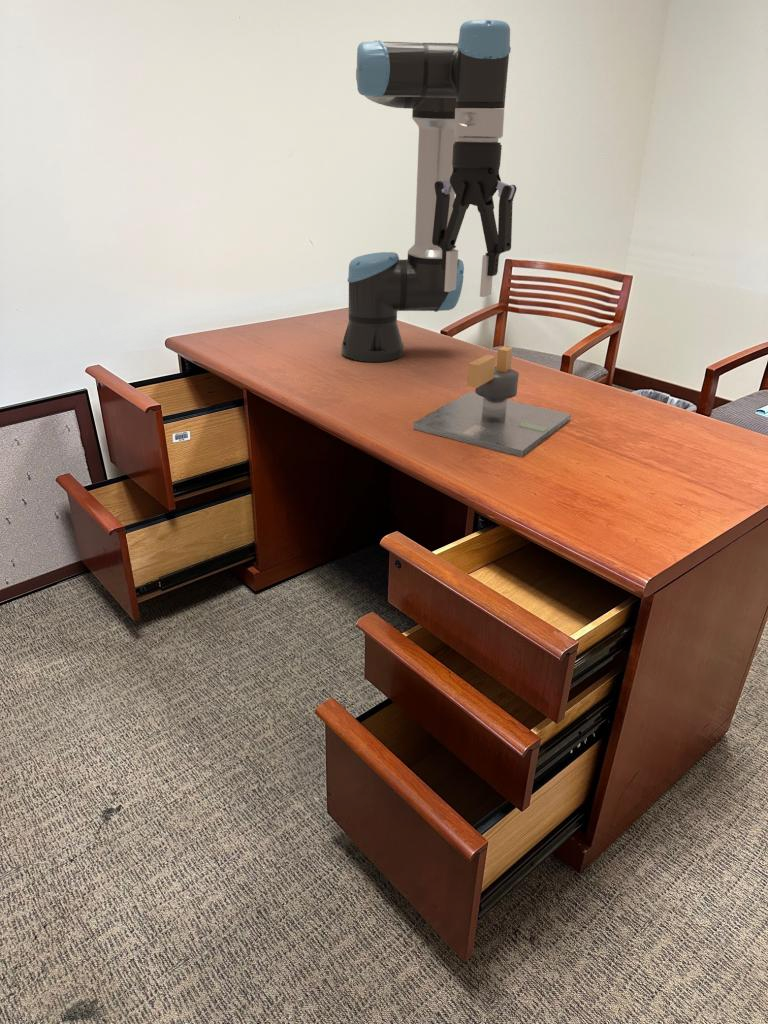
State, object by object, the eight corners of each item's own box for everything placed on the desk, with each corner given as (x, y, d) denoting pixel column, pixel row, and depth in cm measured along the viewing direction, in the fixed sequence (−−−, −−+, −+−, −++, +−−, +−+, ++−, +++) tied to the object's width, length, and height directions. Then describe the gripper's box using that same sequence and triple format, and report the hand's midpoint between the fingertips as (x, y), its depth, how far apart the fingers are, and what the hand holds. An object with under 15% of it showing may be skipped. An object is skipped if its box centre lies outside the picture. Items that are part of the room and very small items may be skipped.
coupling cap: (486, 383, 141) (490, 343, 137) (523, 391, 137) (527, 350, 133) (451, 402, 131) (453, 360, 127) (489, 411, 127) (493, 368, 123)
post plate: (469, 397, 152) (471, 369, 150) (570, 419, 142) (574, 390, 139) (413, 428, 136) (414, 398, 133) (521, 457, 126) (525, 424, 123)
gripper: (412, 138, 116) (408, 289, 126) (524, 142, 106) (509, 304, 117) (437, 138, 121) (430, 282, 132) (544, 141, 112) (528, 296, 123)
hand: (467, 292), depth 124 cm, fingers open, 6 cm apart
